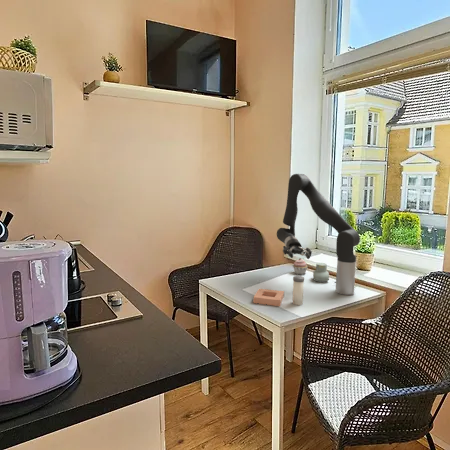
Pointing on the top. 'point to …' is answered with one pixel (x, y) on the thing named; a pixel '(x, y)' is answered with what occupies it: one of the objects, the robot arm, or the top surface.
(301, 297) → the canister
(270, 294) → the socket block
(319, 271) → the air freshener
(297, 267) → the cupcake
